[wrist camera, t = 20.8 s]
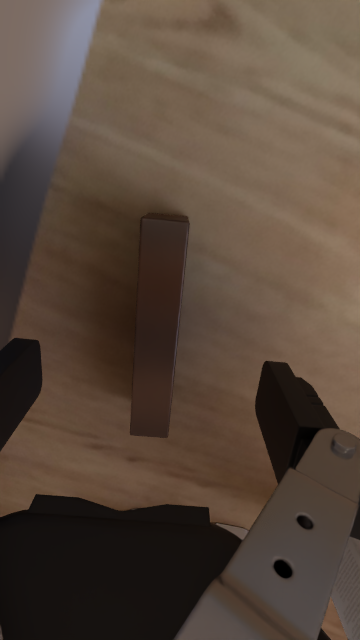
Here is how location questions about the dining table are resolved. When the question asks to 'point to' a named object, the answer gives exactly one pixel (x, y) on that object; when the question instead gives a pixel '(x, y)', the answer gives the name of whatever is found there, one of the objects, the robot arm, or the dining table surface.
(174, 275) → the stick
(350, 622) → the cosmetic box
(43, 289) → the dining table surface
